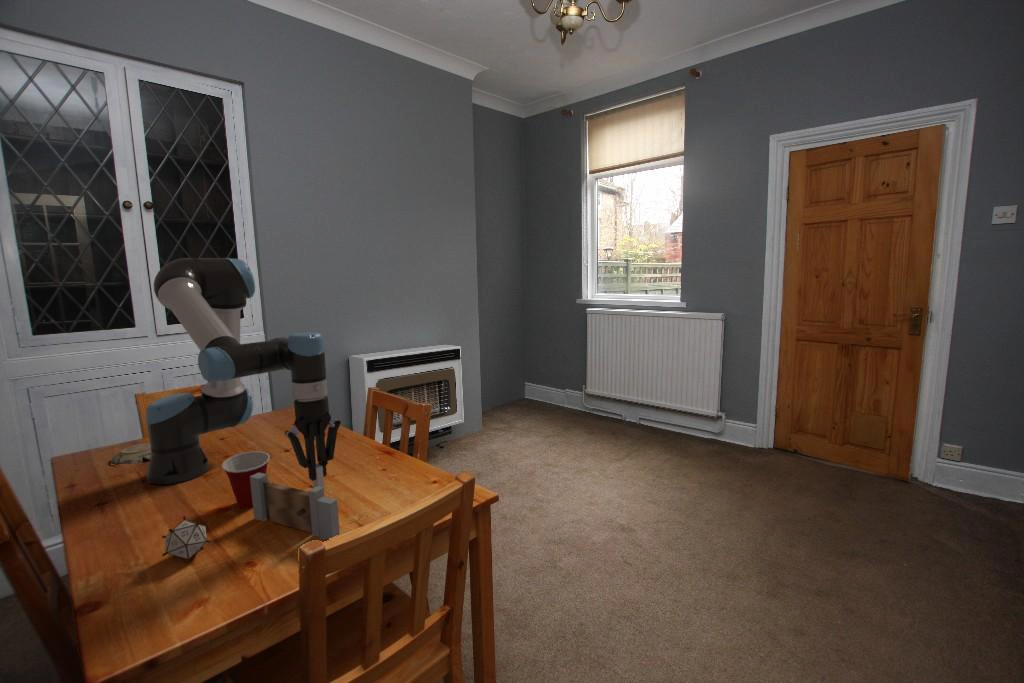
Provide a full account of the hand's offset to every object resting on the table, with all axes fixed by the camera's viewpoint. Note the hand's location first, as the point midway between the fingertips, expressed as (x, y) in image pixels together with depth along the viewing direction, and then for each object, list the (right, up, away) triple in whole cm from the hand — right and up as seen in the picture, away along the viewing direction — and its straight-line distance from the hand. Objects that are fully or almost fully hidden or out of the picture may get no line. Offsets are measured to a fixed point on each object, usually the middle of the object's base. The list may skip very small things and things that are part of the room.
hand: (319, 490), depth 115 cm
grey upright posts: (-3, -7, -5) cm, 9 cm away
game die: (-21, -9, -16) cm, 28 cm away
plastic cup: (-21, -6, +7) cm, 22 cm away
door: (-5, -7, -5) cm, 10 cm away
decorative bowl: (-75, -2, +38) cm, 84 cm away
